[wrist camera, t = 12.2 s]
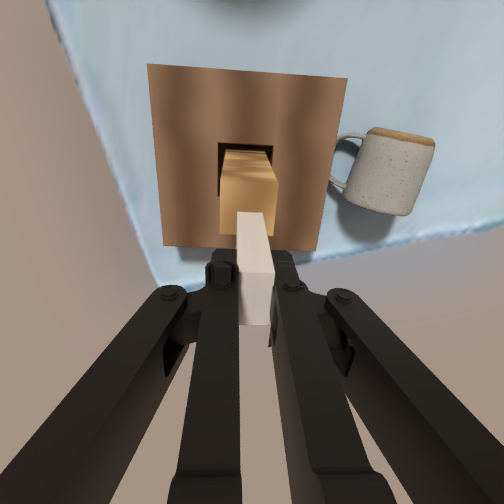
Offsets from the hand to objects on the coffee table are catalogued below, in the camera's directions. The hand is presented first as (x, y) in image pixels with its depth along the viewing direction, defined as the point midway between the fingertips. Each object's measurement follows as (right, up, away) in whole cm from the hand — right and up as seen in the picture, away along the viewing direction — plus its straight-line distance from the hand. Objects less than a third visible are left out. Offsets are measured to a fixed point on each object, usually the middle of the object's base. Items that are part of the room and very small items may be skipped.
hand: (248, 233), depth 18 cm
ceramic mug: (+14, +10, +18) cm, 25 cm away
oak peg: (-1, +9, +16) cm, 19 cm away
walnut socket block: (-1, +10, +17) cm, 20 cm away
